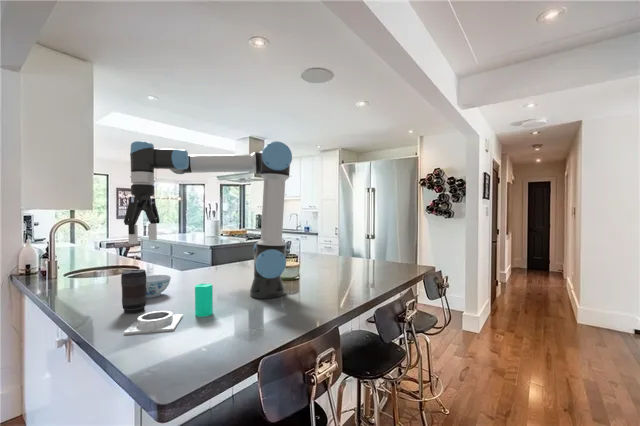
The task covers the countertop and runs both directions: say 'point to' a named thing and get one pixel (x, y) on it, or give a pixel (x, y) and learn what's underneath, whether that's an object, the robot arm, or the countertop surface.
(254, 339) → the countertop surface
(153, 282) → the chinaware
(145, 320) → the duct flange
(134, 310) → the camera lens
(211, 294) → the candle
